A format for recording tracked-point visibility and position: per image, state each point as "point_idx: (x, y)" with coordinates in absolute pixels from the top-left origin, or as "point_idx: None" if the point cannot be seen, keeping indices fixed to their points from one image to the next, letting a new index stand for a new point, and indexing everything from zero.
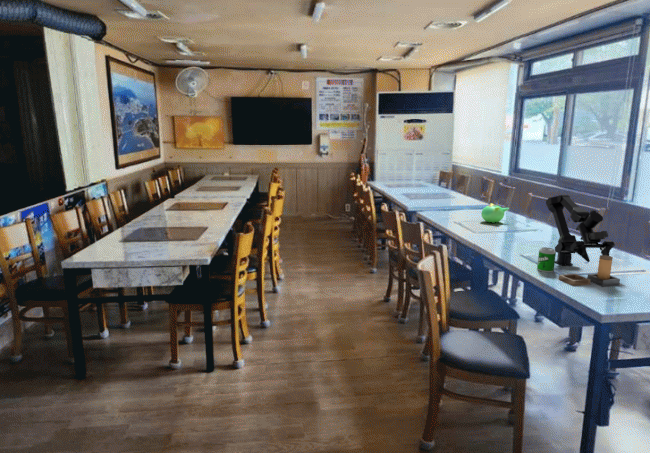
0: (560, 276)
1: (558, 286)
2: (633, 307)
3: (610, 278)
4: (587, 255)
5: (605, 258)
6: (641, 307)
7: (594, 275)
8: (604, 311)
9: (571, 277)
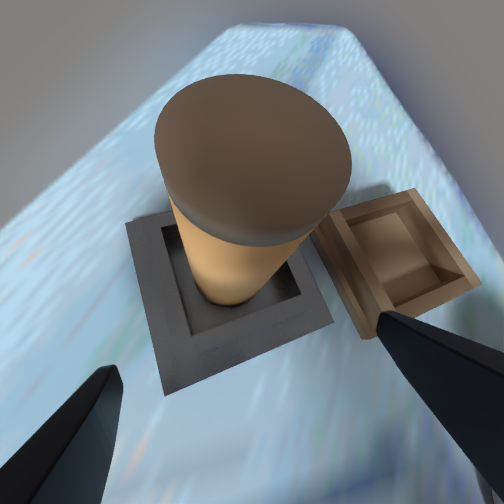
0: (468, 273)
1: (443, 214)
2: (242, 50)
3: (175, 276)
4: (480, 356)
5: (293, 99)
6: (216, 48)
7: (273, 305)
8: (337, 39)
9: (401, 302)
